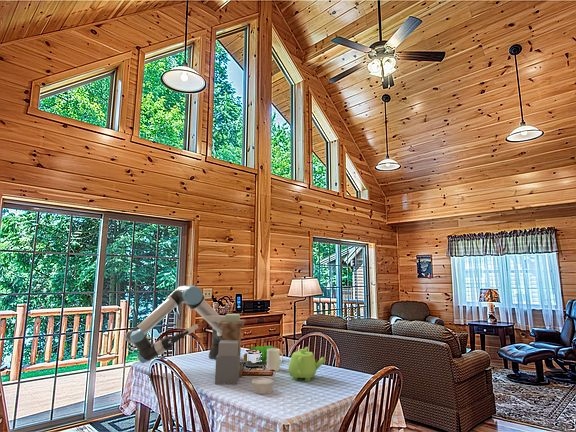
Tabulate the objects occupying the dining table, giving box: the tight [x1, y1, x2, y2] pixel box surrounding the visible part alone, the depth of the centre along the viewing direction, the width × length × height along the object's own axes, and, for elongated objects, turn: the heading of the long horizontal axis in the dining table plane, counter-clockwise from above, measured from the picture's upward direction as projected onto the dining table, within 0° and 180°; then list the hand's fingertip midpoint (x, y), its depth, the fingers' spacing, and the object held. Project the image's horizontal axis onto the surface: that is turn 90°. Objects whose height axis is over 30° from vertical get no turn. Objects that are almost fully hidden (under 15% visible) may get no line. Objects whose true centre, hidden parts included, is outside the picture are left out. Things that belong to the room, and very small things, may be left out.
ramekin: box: [251, 377, 274, 395], centre depth 191 cm, size 11×11×5 cm
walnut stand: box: [219, 318, 246, 378], centre depth 227 cm, size 14×20×30 cm
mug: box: [266, 347, 284, 372], centre depth 237 cm, size 12×8×12 cm
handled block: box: [205, 313, 241, 322], centre depth 230 cm, size 20×8×4 cm, turn 93°
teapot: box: [288, 346, 327, 382], centre depth 219 cm, size 25×22×16 cm
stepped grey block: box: [214, 340, 241, 385], centre depth 209 cm, size 12×12×21 cm
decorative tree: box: [243, 345, 278, 363], centre depth 257 cm, size 11×12×30 cm
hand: (195, 327), depth 228 cm, fingers open, 13 cm apart
